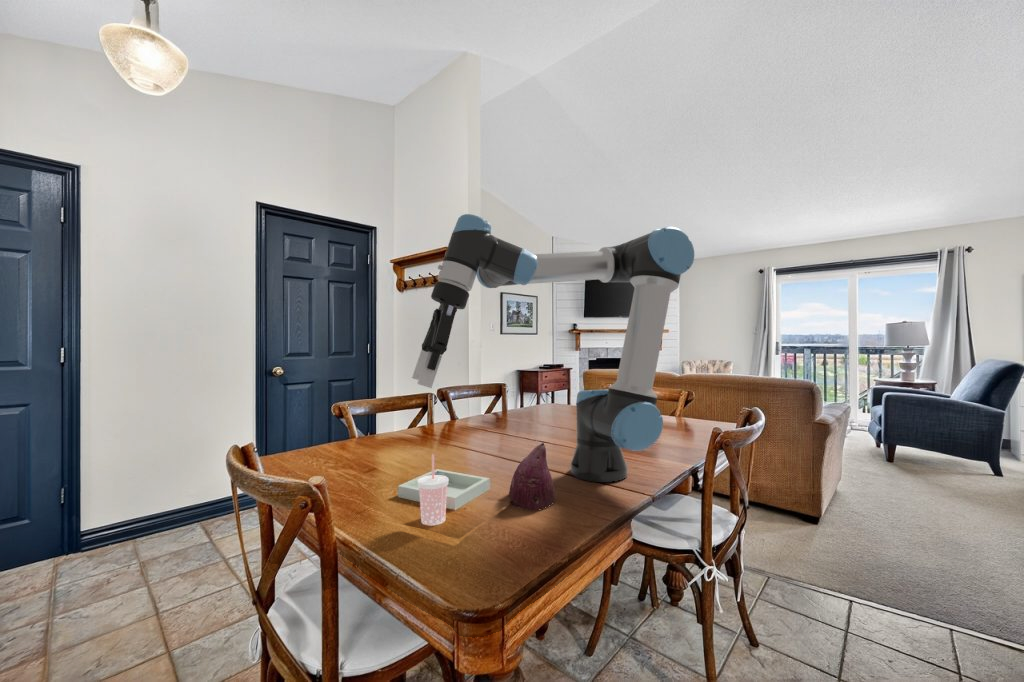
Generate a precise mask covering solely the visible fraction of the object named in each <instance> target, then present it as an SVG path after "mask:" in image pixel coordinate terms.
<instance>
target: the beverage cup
mask: <svg viewBox="0 0 1024 682" xmlns="http://www.w3.org/2000/svg"><path fill="white" fill-rule="evenodd" d="M434 470H435V454H434V453H432V454H431V471H432V475H429V476H424V477H422V478H419V479H418V480H417V482H418V487H419V493H420V502H419V506H420V507H419V508H420V521H421V524H422V525H425V526H438V525H441V524H443V523H444V522H445V521H446V517H447V516H446V515H447V508H446V499H447V485H448V484H449V483H448V481H449V479H448V477H446V476H443V475H434Z"/></svg>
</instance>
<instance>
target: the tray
mask: <svg viewBox="0 0 1024 682" xmlns="http://www.w3.org/2000/svg"><path fill="white" fill-rule="evenodd" d="M436 473H443V474H444V475H445V476H446V477H448V479H449V481H448V483H449V484H448V485H447V499H446V509H448V510H449V509H450V510H453V511H457V510H458V509H460V508H461V507H463V506H464V505H466V504H468V503H469V502H471V501H473V500H474V499H476V498H477V497H479V496H481V495H483V494H484V493H485V492H487V491H490V489H491V479H490V478H489V477H484V476H480V475H479V476H478V475H473V474H467V473H460V472H455V471H450V470H444V469H440V468H439V469H438V468H436V469H434V475H435V474H436ZM429 475H432V470H431V471H429V472H426V473H424V474H422V475H420V476H417V477H415V478H413V479H411V480H409V481H406V482H404V483H402V484H399V485H398V486H397V497H398V498H400V499H405V500H409V501H413V502H418V503H420V493H419V487H418V482H417V480H418V479H419V478H422V477H424V476H429Z"/></svg>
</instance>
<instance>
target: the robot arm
mask: <svg viewBox="0 0 1024 682" xmlns="http://www.w3.org/2000/svg"><path fill="white" fill-rule="evenodd" d="M491 233H492V225H491V224H490V222H489V221H487V220H485V219H484V218H483V217H480V216H478V215H475V214H470V213H466V214H465V213H464V214H462V215H460V216H459V217H458V219H457V221H456V223H455V225H454V228H453V230H452V233H451V235H450V238H449V242H448V245H447V249H446V252H445V254H444V257H443V260H442V264H438V266H437V269H438V270H439V272H438V275H437V280H438V281H437V282H435V283H434V286H433V289H432V292H431V294H430V298H431V299H432V300H433V301H434V302H437V303H439V306H438V308H435V309H434V311H433V313H432V316H431V317H432V318H431V320H430V324H429V327H428V330H427V332H426V335H425V338H424V339H423V342H422V344H421V351H420V353H419V356H418V359H417V362H416V365H415V368H414V370H413V374H412V377H411V378H412V379H413V380H417V385H419V386H423V387H426V388H431V389H432V388H433V385H434V382H435V379H436V376H437V374H438V371H439V370H438V369H439V367H440V364H441V361H442V358H443V355H444V353H446V351H447V350H448V343H449V340H450V335H451V331H452V327H453V323H454V319H455V318H456V317H455V316H456V313H457V311H458V310H465V309H466V306H467V303H468V301H469V297H470V293H469V292H470V291H472V289H473V286H474V283H475V279H476V278H477V281H478V282H479V283H480V284H481V286H483V287H485V288H488V289H496V288H499V287H502V286H503V287H507V286H517V285H521V286H526V285H529V284H530V285H531V284H548V283H550V284H551V283H564V282H578V281H579V282H580V281H581V282H582V281H592V280H593V281H594V280H599V281H600V282H601V283H630V284H631V285H632V287H634V288H633V294H632V300H631V304H630V305H631V306H630V310H629V315H628V316H629V317H628V320H627V325H626V326H627V327H626V330H625V337H624V341H623V345H622V351H621V356H620V361H619V366H618V371H617V376H616V377H617V378H616V381H615V382H614V383H612V384H611V385H609V386H608V389H607V388H606V389H591V390H590V389H587V390H586V389H585V390H579V391H578V392H577V394H576V401H575V406H576V447H575V450H574V453H573V456H572V460H571V462H570V474H571V475H572V476H573V477H575V478H577V479H580V480H583V481H587V482H594V483H595V482H596V483H612V481H615V482H619V481H618V480H620V481H623V480H624V478H625V479H626V478H627V477H628V465H627V463H626V460H625V459H626V458H625V456H624V453H623V450H622V449H626V450H629V451H634V452H635V451H636V452H639V451H644V450H647V449H648V448H650V447H651V446H653V445H654V444H655V443H656V442H657V441H658V439H659V438H660V436H661V434H662V431H663V428H664V418H663V415H662V414H661V411H660V409H659V408H658V407H657V403H658V396H657V394H656V392H655V391H654V389H653V387H654V382H655V379H656V371H657V367H658V362H659V356H660V350H661V346H662V345H661V344H662V340H663V334H664V330H665V324H666V318H667V313H668V309H669V304H670V297H671V293H672V292H674V291H676V290H677V289H678V288H679V285H680V280H681V276H682V274H684V273H686V272H687V271H688V270H689V269H690V268H691V267H692V265H693V264H694V262H695V249H694V246H693V243H692V241H691V240H690V239H689V236H688V235H687V234H686V232H684V231H683V230H681V229H679V228H677V227H674V226H665V227H662V228H657V229H654V230H652V231H651V232H649V233H647V234H644V235H642V236H639V237H636V238H634V239H631V240H629V241H626V242H623V243H622V244H621V243H620V244H617V245H614V246H604V247H603V246H602V247H601V248H600V249H598V251H597V250H596V251H574V252H572V251H571V252H555V253H554V252H553V253H549V252H548V253H533V252H532V251H529V250H527V249H526V248H523V247H519V246H517V245H515V244H513V243H510V242H509V241H505V240H503V239H500V238H498V237H497V236H494V235H492V234H491ZM622 479H623V480H622Z"/></svg>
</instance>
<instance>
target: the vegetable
mask: <svg viewBox="0 0 1024 682" xmlns="http://www.w3.org/2000/svg"><path fill="white" fill-rule="evenodd" d="M547 462H548V461H547V449H546V445H545V442H542V443H540V444H538V445H536V446H535V447H534V448H533V449H532V450H531V452H529V454H527V455H526V456H525V457H524V458H523V459H522V460H521V462H520V463H519V464H518V465H517V467H516V469H515V470H514V473H513V476H512V478H511V482H510V486H509V492H508V498H509V499H510V501H509V503H510V504H511V505H512V506H513V507H515V508H517V507H518V509H521V508H522V509H521V510H525V509H526V511H534V510H535V511H540V510H539V509H542V510H544V509H543V508H545V507H548V506H549V505H551V504H552V503H553V502H554V501H555V490H554V489H555V488H554V482H553V479H552V475H551V472H550V469H549V466H548V463H547ZM554 503H555V502H554ZM554 503H553V504H554ZM551 506H552V505H551ZM549 507H550V506H549ZM549 507H548V508H549ZM545 509H546V508H545Z"/></svg>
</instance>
